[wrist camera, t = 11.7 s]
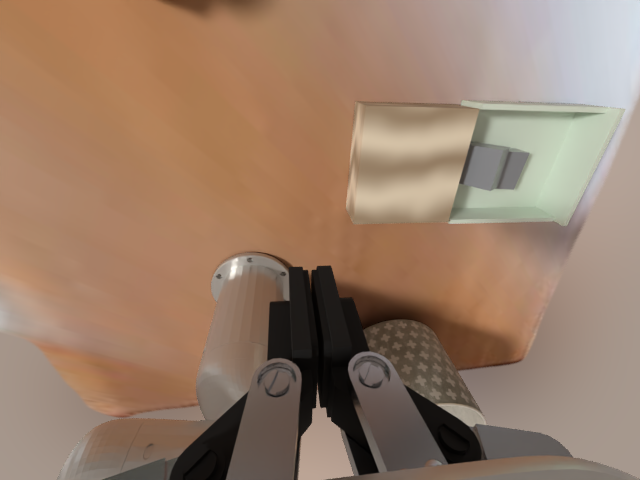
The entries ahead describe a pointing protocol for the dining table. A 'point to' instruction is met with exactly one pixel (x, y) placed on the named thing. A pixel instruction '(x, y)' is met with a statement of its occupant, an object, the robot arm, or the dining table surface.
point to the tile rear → (512, 168)
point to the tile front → (484, 165)
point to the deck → (407, 161)
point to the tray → (537, 159)
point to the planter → (424, 366)
